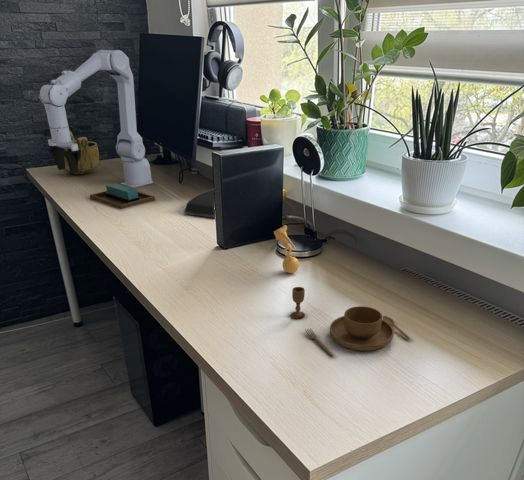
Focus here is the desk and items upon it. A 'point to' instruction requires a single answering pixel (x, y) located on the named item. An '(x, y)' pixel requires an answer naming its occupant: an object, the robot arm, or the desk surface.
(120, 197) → the teal long block
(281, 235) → the figurine
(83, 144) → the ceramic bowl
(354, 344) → the place setting
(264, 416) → the desk surface
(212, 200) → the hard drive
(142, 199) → the tray
